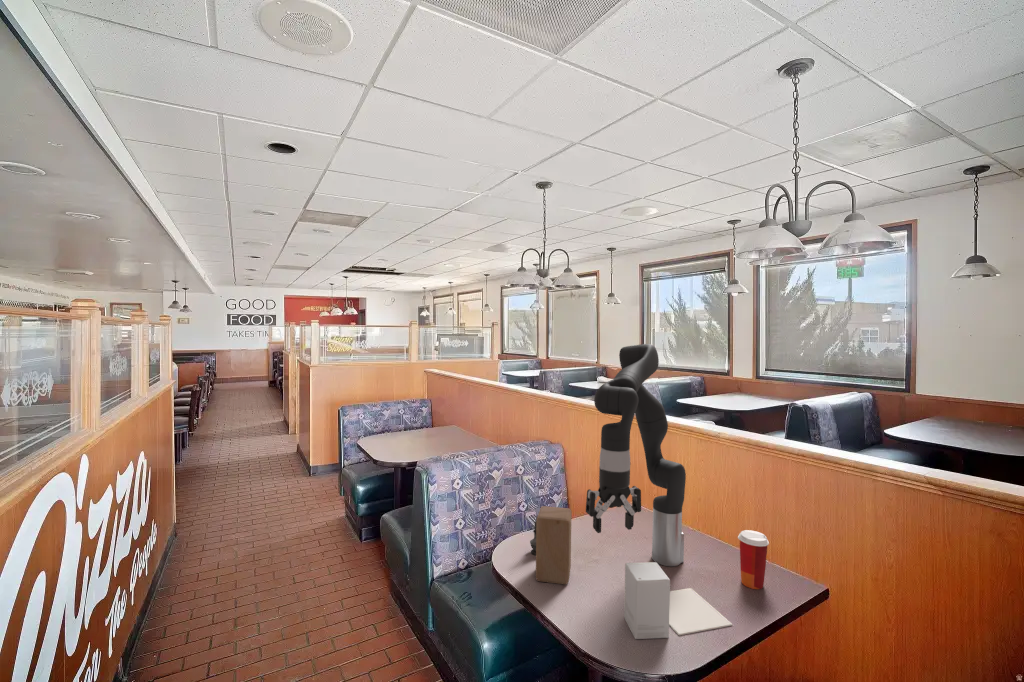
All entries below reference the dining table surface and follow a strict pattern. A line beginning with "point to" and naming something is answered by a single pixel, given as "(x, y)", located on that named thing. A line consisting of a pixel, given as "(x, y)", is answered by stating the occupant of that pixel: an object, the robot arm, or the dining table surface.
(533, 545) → the salt shaker
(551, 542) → the wooden block
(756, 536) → the coffee cup
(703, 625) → the mat
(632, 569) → the supplement box
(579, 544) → the dining table surface
